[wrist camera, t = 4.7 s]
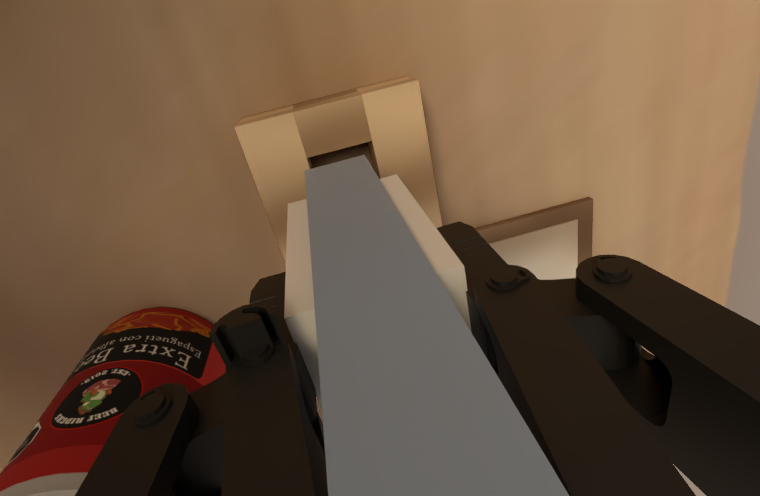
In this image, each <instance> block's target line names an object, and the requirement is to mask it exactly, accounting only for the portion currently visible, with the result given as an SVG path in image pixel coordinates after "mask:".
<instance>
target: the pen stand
mask: <svg viewBox="0 0 760 496" xmlns="http://www.w3.org/2000/svg"><path fill="white" fill-rule="evenodd" d="M234 128H235V131H236V133H237V136H238V139H239V141H240V144H241V147H242V149H243V152H244V155H245V157H246V160H247V163H248V165H249V168H250V170H251V173H252V176H253V178H254V181H255V184H256V186H257V189H258V192H259V194H260V197H261V200H262V202H263V205H264V208H265V210H266V213H267V216H268V218H269V221H270V224H271V226H272V229H273V231H274V234H275V237H276V239H277V242H278V245H279V247H280V250H281V253H282V255H283V258H284V261H285V263H286V245H287V214H288V204H289V203H293V202H297V201H300V200H304V199H307V198H306V184H305V170H309V169H313V166H312V163H311V160H310V157H313V156H316V155H320V154H324V153H328V152H332V151H336V150H339V149H343V148H347V147H351V146H355V145H358V144H362V143H366V142H368V146H369V151H370V155H371V159H372V164H373V168H374V171H375V173H376V174H377V176H378V178H379V179H381V178H385V177H388V176H392V175H396V174H397V175H398V177H399V178H400V179H401V181H402V182H403V184H404V185H405V186H406V188H407V189H408V190H409V192H410V193H411V194H412V196H413V197H414V199H415V200H416V201H417V203H418V204H419V205H420V207H421V208H422V209H423V211H424V212H425V213H426V215H427V216H428V218H429V219H430V220H431V222H432V223H433V224H434V226H435V227H436V228H438V227H442V221H441V215H440V209H439V203H438V197H437V191H436V185H435V179H434V172H433V166H432V160H431V154H430V148H429V142H428V136H427V130H426V124H425V118H424V112H423V106H422V100H421V93H420V87H419V81H418V80H417V79H414V78H410V77H407V76H403V77H399V78H396V79H392V80H388V81H384V82H380V83H376V84H372V85H368V86H364V87H360V88H356V89H353V90H349V91H345V92H341V93H337V94H333V95H329V96H325V97H321V98H317V99H313V100H310V101H306V102H302V103H298V104H294V105H290V106H286V107H282V108H278V109H274V110H270V111H267V112H263V113H259V114H255V115H251V116H247V117H243V118H241V120H240V121H239V122H238V123H237V124H236V126H235V127H234Z"/></svg>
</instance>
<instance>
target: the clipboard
mask: <svg viewBox="0 0 760 496" xmlns="http://www.w3.org/2000/svg"><path fill="white" fill-rule="evenodd" d="M592 222H593V199H592V198H590V197H587V198H583V199H580V200H576V201H572V202H569V203H565V204H561V205H558V206H554V207H551V208H547V209H543V210H540V211H536V212H533V213H529V214H525V215H522V216H518V217H514V218H511V219H507V220H504V221H500V222H496V223H493V224H489V225H485V226H482V227H478V228H475V230H476V231H477V232H478V233H479V234H480V235H481V237H483V238H484V239H485V240H486V242H487V244H489V245H490V246H491V247H492V248H493V249H494V250H495V251H496V252H497V253H498V254H499V255H500V257H501V258H502V259H503V260H504V261H505V262H506V263H507V264H508V265H517V266H520V267H523V268H526V269H528V270H529V271H531V272H532V273H533V274H534V275H535V276H536V277H537V279H540V280H555V279H567V278H576V268H577V267H578V265H579V263H580V262H582V261H584V260H586V259H587V258H590V257H592Z"/></svg>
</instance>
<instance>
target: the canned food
mask: <svg viewBox="0 0 760 496" xmlns="http://www.w3.org/2000/svg"><path fill="white" fill-rule="evenodd" d="M212 328H213V326H212V325H211V324H210V323H209V322H208V321H206V320H204V319H202V318H201V317H199V316H197V315H195V314H192V313H189V312H187V311H184V310H179V309H174V308H159V307H157V308H149V309H142V310H139V311H136V312H132V313H130V314H128V315H126V316H124V317H122V318H120V319H119V320H117V321H116V322H114V323H112V324H111V325H110V326H108V327H107V328H106V329H105V330H104V331H102V332H101V333H100V335H99V336H98V337H97V339H96V340H95V341H94V343H93V344H92V345H91V347H90V348H89V350H88V351H87V352H86V354H85V355H84V357H83V358H82V359H81V361H80V362H79V364H78V365H77V366H76V368H75V369H74V371H73V372H72V374H71V375H70V376H69V378H68V379H67V381H66V382H65V383H64V385H63V386H62V388H61V389H60V390H59V392H58V393H57V395H56V396H55V398H54V399H53V400H52V402H51V403H50V405H49V406H48V407H47V409H46V410H45V412H44V413H43V414H42V416H41V417H40V419H39V420H38V422H37V423H36V424H35V426H34V427H33V429H32V430H31V431H30V433H29V434H28V436H27V437H26V438H25V440H24V441H23V443H22V444H21V446H20V447H19V448H18V450H17V451H16V453H15V454H14V455H13V457H12V458H11V460H10V461H9V462H8V464H7V465H6V467H5V468H4V470H3V471H2V472H1V474H0V496H75V494H76V493H77V491H78V489H79V487H80V486H81V484H82V482H83V481H84V479H85V477H86V475H87V474H88V472H89V470H90V468H91V467H92V465H93V463H94V461H95V460H96V458H97V456H98V455H99V453H100V451H101V449H102V448H103V446H104V444H105V442H106V441H107V439H108V437H109V435H110V434H111V432H112V430H113V429H114V427H115V425H116V423H117V422H118V420H119V418H120V417H121V415H122V414H123V413H124V411H125V410H126V409H127V407H128V406H129V405H130V404H131V403H132V402H134V401H135V400H136V399H137V398H138V397H139V396H141V395H142V394H144V393H145V392H147V391H149V390H151V389H153V388H155V387H158V386H161V385H163V384H166V383H179V384H181V385H184V386H185V387H186V388H187V390H188V391H189V393H192V392H193V391H195V390H197V389H199V388H201V387H203V386H205V385H207V384H208V383H210V382H212V381H214V380H215V379H217V378H219V377H220V376H222V375H223V374H224V373H225V372H226V366H225V364H224V362H223V360H222V358H221V356H220V354H219V353H218V351H217V349H216V347H215V345H214V343H213V341H212V340H211V338H210V336H209V335H210V333H211V330H212Z"/></svg>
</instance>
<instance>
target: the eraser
mask: <svg viewBox="0 0 760 496" xmlns="http://www.w3.org/2000/svg"><path fill="white" fill-rule="evenodd" d="M305 184H306V198H307V211H308V225H309V239H310V252H311V266H312V280H313V293H314V307H315V321H316V334H317V348H318V362H319V375H320V389H321V403H322V416H323V430H324V444H325V457H326V471H327V485H328V496H569V494H568V493H567V491H566V489H565V488H564V486H563V484H562V483H561V481H560V479H559V478H558V476H557V474H556V473H555V471H554V469H553V468H552V466H551V464H550V463H549V461H548V459H547V458H546V456H545V454H544V453H543V451H542V449H541V448H540V446H539V444H538V443H537V441H536V439H535V438H534V436H533V434H532V433H531V431H530V429H529V428H528V426H527V424H526V423H525V421H524V419H523V418H522V416H521V414H520V413H519V411H518V409H517V408H516V406H515V404H514V403H513V401H512V399H511V398H510V396H509V394H508V393H507V391H506V389H505V388H504V386H503V384H502V383H501V381H500V379H499V378H498V376H497V374H496V373H495V371H494V369H493V368H492V366H491V364H490V363H489V361H488V359H487V358H486V356H485V354H484V353H483V351H482V349H481V348H480V346H479V344H478V343H477V341H476V339H475V338H474V336H473V334H472V333H471V331H470V329H469V328H468V326H467V324H466V323H465V321H464V319H463V318H462V316H461V314H460V313H459V311H458V309H457V308H456V306H455V304H454V303H453V301H452V299H451V298H450V296H449V294H448V293H447V291H446V289H445V288H444V286H443V284H442V283H441V281H440V279H439V278H438V276H437V274H436V273H435V271H434V269H433V268H432V266H431V264H430V263H429V261H428V259H427V258H426V256H425V254H424V253H423V251H422V249H421V248H420V246H419V244H418V243H417V241H416V239H415V238H414V236H413V234H412V233H411V231H410V229H409V228H408V226H407V224H406V223H405V221H404V219H403V218H402V216H401V214H400V213H399V211H398V209H397V208H396V206H395V204H394V203H393V201H392V199H391V198H390V196H389V194H388V193H387V191H386V189H385V188H384V186H383V184H382V183H381V181H380V179H379V178H378V176H377V174H376V173H375V171H374V169H373V168H372V166H371V164H370V163H369V161H368V159H367V158H366V156H365V155H361V156H358V157H352V158H349V159H345V160H341V161H337V162H334V163H330V164H326V165H322V166H319V167H315V168H313V169H309V170H305Z"/></svg>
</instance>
